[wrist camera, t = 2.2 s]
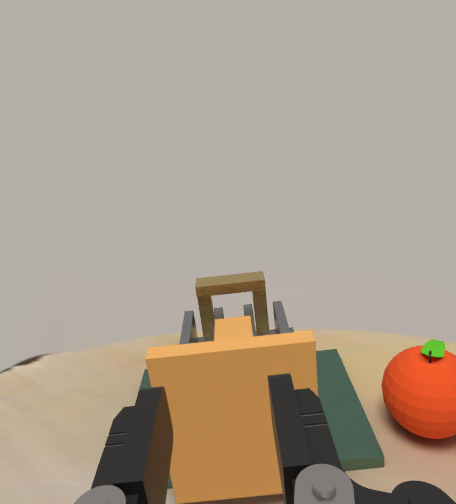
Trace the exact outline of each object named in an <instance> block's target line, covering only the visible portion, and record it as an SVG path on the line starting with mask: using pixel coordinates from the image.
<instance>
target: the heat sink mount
mask: <svg viewBox="0 0 456 504" xmlns="http://www.w3.org/2000/svg"><path fill="white" fill-rule="evenodd" d="M195 288H196V295H197V298H198V304H199V310H200V316H201V323H202V330H203V336H204V337H200V338H198V337H197V330H196V324H195V318H194V312H193V311H186V312H185V315H184V320H183V327H182V333H181V339H180V344H190V343H199V342H208V341H214V334H215V319H224V315H223V308H215V309H214V312H213V305H212V298H211V296H213V295H222V294H230V293H240V292H247V291H252V292H253V302H254V312H255V321H256V330H255V324H254V316H253V309H252V304H249V305H244V316H250V317H251V325H252V333H253V337H255V336H264V335H273V334H282V333H292V332H294V330H293V327H292V328H289V327H288V323H287V319H286V316H285V312H284V310H283V306H282V302H281V301H276V302H273V308H274V309H273V310H274V321H275V329H274V330H269V324H268V313H267V303H266V291H265V290H266V289H265V279H264V275H263V272H262V271H261V272H252V273H243V274H234V275H225V276H216V277H207V278H199V279H196V287H195ZM316 364H317V383H318V397H319V398H320V401H321V404H322V407H323V410H324V414H325V416H326V420H327V423H328V426H329V429H330V432H331V435H332V438H333V441H334V445H335V448H336V451H337V454H338V457H339V460H340V463H341V466H342V468H343V470H344V471H346V470H356V469H366V468H377V467H384V455H383V453H382V451H381V448H380V446H379V444H378V442H377V439H376V437H375V435H374V433H373V430H372V428H371V426H370V424H369V421H368V419H367V417H366V415H365V412H364V410H363V408H362V406H361V403H360V401H359V399H358V397H357V394H356V392H355V390H354V388H353V385H352V383H351V381H350V379H349V376H348V374H347V372H346V370H345V367H344V365H343V363H342V361H341V358H340V356H339V354H338V352H337V349H332V350H322V351H316ZM142 388H151V383H150V378H149V373H148V369H145V371H144V374H143V378H142V382H141V385H140V389H142ZM140 389H139V390H140ZM167 488H173V485H172V481H171V476H170V472H169V479H168V486H167Z"/></svg>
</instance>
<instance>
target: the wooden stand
mask: <svg viewBox="0 0 456 504" xmlns="http://www.w3.org/2000/svg"><path fill="white" fill-rule="evenodd" d="M146 364H147V369H148V373H149V378H150V383H151V387H161V386H163V387H164V388H165V391H166V396H167V401H168V406H169V411H170V416H171V421H172V426H173V450H172V457H171V464H170V476H171V481H172V485H173V490H174V495H175V499H176V504H181V503H191V502H202V501H212V500H222V499H232V498H243V497H253V496H263V495H273V494H283V493H282V486H281V479H280V473H279V466H278V460H277V453H276V447H275V440H274V433H273V426H272V417H271V407H270V397H269V387H268V375H277V374H287V373H290V374H291V378H292V382H293V386H294V390H296V389H305V388H310V389H311V390H312V391H313V392H314V393H315V394H316V395H317V396H318V383H317V364H316V344H315V339H314V336H313V334H312V331H311V330H310V331H301V332H292V333H282V334H273V335H264V336H255V337H253V333H252V325H251V317H250V316H242V317H233V318H224V319H215V334H214V341H208V342H199V343H190V344H180V345H171V346H162V347H152V348H149V349H148V352H147V356H146Z"/></svg>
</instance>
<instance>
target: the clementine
mask: <svg viewBox="0 0 456 504" xmlns="http://www.w3.org/2000/svg"><path fill="white" fill-rule="evenodd" d="M444 349H445V344H444V342H443V341H438V340H430V341H428V342H427V343H426V344H425V345H424V346H416V347H412V348H408V349H405V350H403V351H402V352H400V353H399V354H398V355H396V356H395V357H394V358H393V359H392V360H391V361H390V362H389V364H388V366H387V367H386V369H385V371H384V375H383V381H382V391H383V397H384V402H385V404H386V406H387V408H388V410H389V412H390V413H391V415H392V417H393V418H394V419H395V420H396V421H397V422H398V423H399V424H401V425H402V426H403V427H404V428H405V429H407V430H408V431H410V432H411V433H414V434H416V435H419V436H421V437H426V438H432V439H442V438H448V437H450V436H453V435H455V434H456V356H455V355H454V354H452V353H450V352H448V351H446V350H444Z"/></svg>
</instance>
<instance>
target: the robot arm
mask: <svg viewBox="0 0 456 504" xmlns="http://www.w3.org/2000/svg"><path fill="white" fill-rule="evenodd" d="M268 387H269V397H270V407H271V417H272V426H273V433H274V440H275V447H276V453H277V460H278V466H279V473H280V479H281V486H282V493H283V499H284V504H456V503H455V502H454V501H453V500H452V499H451V498H450V497H449V496H448V495H447V494H446V493H445V492H443V491H442V490H441V489H439V488H438V487H436V486H434V485H432V484H429V483H426V482H422V481H407V482H403V483H401V484H399V485H398V486H396V487H395V488H394V490H393V491H392V493H387V492H382V491H376V490H372V489H368V488H365V487H363V486H361V485H359V484H357V483H356V482H354V481H353V480H352V479H350V478H349V477H348V476H347V474H346V473H345V472H344V470H343V468H342V466H341V463H340V460H339V457H338V454H337V451H336V448H335V445H334V441H333V438H332V435H331V432H330V429H329V426H328V423H327V420H326V416H325V414H324V410H323V407H322V404H321V401H320V398H319V397H318V396H317V395H316V394H315V393H314V392H313V391H312V390H311V389H310V388H305V389H296V390H294V386H293V382H292V378H291V374H290V373H287V374H277V375H268ZM172 450H173V426H172V421H171V416H170V411H169V406H168V401H167V396H166V391H165V388H164V387H163V386H161V387H151V388H142V389H140V390H139V392H138V396H137V400H136V403H135V406H130V407H124V408H123V409H122V410H121V411H120V412H119V414H118V415H117V416H116V417H115V418H114V420H113V423H112V426H111V429H110V432H109V436H108V438H107V441H106V444H105V447H104V450H103V453H102V456H101V459H100V462H99V465H98V468H97V471H96V475H95V478H94V481H93V484H92V487H91V490H89V491H87V492H86V493H84V494H83V495H82V496H81V497H80V498H78V499H77V501H76V502H75V503H74V504H165V501H166V494H167V486H168V479H169V472H170V464H171V457H172Z"/></svg>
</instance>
